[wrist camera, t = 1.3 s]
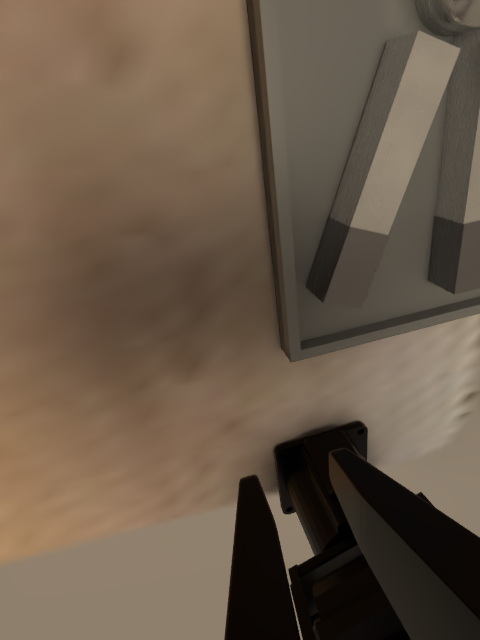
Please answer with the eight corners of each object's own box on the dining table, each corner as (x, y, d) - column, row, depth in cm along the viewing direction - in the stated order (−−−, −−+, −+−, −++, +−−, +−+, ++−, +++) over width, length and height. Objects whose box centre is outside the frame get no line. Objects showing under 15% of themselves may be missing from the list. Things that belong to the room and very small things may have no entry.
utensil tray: (492, 294, 24) (514, 304, 23) (281, 347, 22) (290, 362, 21) (606, -304, 14) (660, -352, 12) (215, -309, 11) (227, -369, 10)
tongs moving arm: (341, 292, 21) (361, 308, 19) (306, 287, 20) (323, 303, 18) (427, 57, 16) (463, 48, 15) (385, 40, 16) (419, 29, 14)
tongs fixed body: (460, 272, 22) (490, 285, 20) (395, 288, 21) (420, 303, 20) (526, -188, 14) (586, -236, 12) (424, -184, 13) (471, -234, 11)
